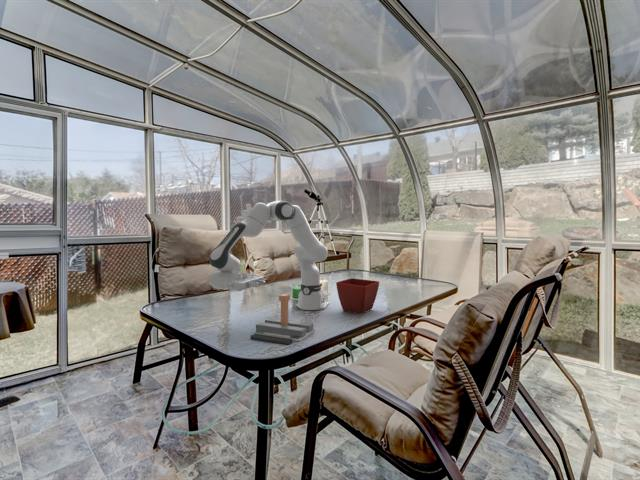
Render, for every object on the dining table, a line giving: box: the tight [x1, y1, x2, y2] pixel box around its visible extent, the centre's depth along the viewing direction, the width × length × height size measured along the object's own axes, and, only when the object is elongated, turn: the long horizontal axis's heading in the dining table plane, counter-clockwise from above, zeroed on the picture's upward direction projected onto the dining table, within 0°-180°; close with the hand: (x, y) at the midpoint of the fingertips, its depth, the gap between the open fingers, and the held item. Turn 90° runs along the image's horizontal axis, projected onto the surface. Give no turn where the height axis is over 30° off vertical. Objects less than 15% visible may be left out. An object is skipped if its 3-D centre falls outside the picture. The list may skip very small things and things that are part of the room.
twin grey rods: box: [250, 334, 294, 345], centre depth 151 cm, size 4×20×2 cm, turn 67°
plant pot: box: [335, 277, 380, 314], centre depth 202 cm, size 19×19×17 cm
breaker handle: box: [278, 293, 291, 326], centre depth 162 cm, size 4×4×16 cm
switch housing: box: [252, 317, 316, 342], centre depth 162 cm, size 16×24×4 cm
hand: (262, 283), depth 165 cm, fingers open, 4 cm apart
